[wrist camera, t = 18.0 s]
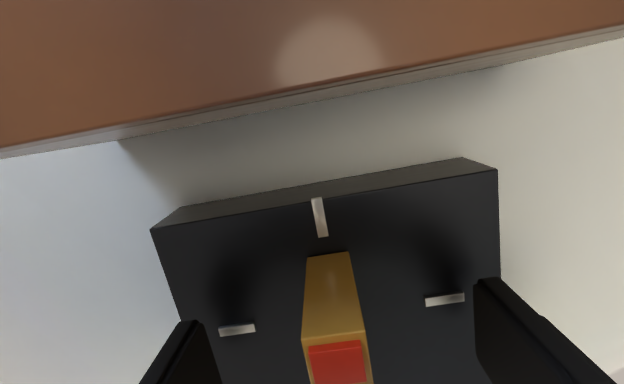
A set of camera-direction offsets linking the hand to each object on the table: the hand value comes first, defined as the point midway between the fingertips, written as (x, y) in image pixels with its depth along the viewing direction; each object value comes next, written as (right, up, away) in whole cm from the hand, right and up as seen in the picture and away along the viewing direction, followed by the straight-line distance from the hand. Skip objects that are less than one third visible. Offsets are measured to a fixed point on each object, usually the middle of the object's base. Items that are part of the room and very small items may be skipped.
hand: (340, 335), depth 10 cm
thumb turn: (0, 0, +1) cm, 1 cm away
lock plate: (0, +1, +4) cm, 4 cm away
